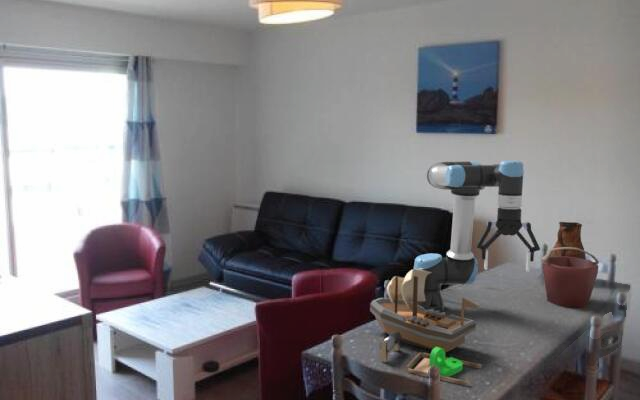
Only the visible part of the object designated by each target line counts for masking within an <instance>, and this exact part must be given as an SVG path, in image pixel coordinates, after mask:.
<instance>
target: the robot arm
mask: <svg viewBox="0 0 640 400" xmlns="http://www.w3.org/2000/svg"><path fill="white" fill-rule="evenodd" d="M524 173H525V171H524V163H523V162H522V161H519V160H518V161H517V160H502V161H500V163H499V164H498V163H497V164H496V163H495V164H481V163H480V162H478V161H470V160H469V161H468V160H467V161H441V162H437V163H435V164H433V165H431V166H430V167H429V168H428V169H427V172H426V179H427V182H428V183H429V185H431V186H432V187H434V188H436V189H439V190H447V191H450V193H451V195H452V196H453V198H454V199H453V210H452V211H453V212H452V221H451V222H452V224H451V236H450V237H451V239H450V249H449V250H448V251H446V256H445V257H443V256H442V255H441V253H440V254H439V253H434V252H433V253H432V252H431V253H425V254H420V255H418V256H416V258H414V265H413V269H419V270H423V271H428V272H432V273H430V274H428V275H427V277H426V279H425V285H424V295H425V299H426V301H419V302H417V305H419V306H421V307H423V308H424V309H425V310H430V309H434V311H440V312H444V309H445V302H444V298H443V295H442V292H441V291H442V290H441V287H442V286H443V285H461V286H462V285H471V284H473V283H474V282H475V280H476V279H477V276H478V274H479V267H478V265H479V263H478V260H477V258H476V257H475V255H474V253H473V252H472V241H473V240H472V239H473V229H474V217H475V205H476V198H477V197H479V196H480V191H483V190H485V188H487V187H489V188H491V187H492V188H493V187H494V188H498V195H497V196H498V197H497V206H498V208H497V215H496V216H497V219H496V221H491V220H487V223H486V228H484V230H483V232H482V234H481V236H480V237H479V239H478V241H477V243H476V248H477V249H480V250H481V255H480V256H481V259H482V260H484V265H483V266H484V267H483V268H484V270H485V271H488V268H489V267H488V265H489V263H488V261H489V260H488V259H489V250H488V248H489V247H490V246H491V245H492V244H493V243H494V242H495V241H496V240H497V239H498V238H499V237H500V236H501V235H502V236H514V237H515V235H516V236H517V237H518V238H519V239H520V241H521V242H522V243H523V244H524V245H525V246H526V248H527V249H528V250H526V258H525V259H526V263H525V270H526V272H528V273H529V272H530V271H531V262H534V257H535V252H538V251H540V250H541V248H540V245H539V243H538V241H537V239H536V236H535V235H534V233H533V231H532V224H531V223H530V222H529V221H526V222H522V208H521V207H523V206H522V205H523V203H522V202H523V201H522V200H523V185H524V184H523V181H524ZM495 226H496V228H497V229H496V230H495V232H494V233H493V234H492V235H491V236H490V237H489V238H488V239H487V237H488V235H489V234H490V232H491V229H493V228H495ZM522 227H523V228H524V229H525V230H526V232H527V234H528V235H529V238H530V240H531V242H532V244H533V246H532V245H531V244H530V243H529V242H528V241H527V239H526V238H525V237H524V236H523V234H522V233H521V232H520V230H521V229H522ZM486 239H487V240H486ZM485 240H486V241H485ZM484 242H485V243H484ZM483 243H484V244H483ZM412 303H413V302H412Z"/></svg>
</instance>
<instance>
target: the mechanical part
mask: <svg viewBox="0 0 640 400" xmlns="http://www.w3.org/2000/svg"><path fill="white" fill-rule="evenodd" d="M429 354H430V358H429V359H430V365H429V367H430V366H432V365H436V366H438V367H439V369H440V375H441V376H445V377H450V378H451V376H454V375H455V374H458V373H460V372H462V371H463V369H464V367H463V366H464V365H463V362H462V361H463V360H462V361H460V360H461V359H458V358H455V357H453V356H451V357H448V359H446V360H445V357H446V352H445V350H444V349H442V348H439V347H435V348H434V349H433V350H432V351H431V352H430V353H429Z"/></svg>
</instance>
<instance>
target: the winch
mask: <svg viewBox="0 0 640 400" xmlns="http://www.w3.org/2000/svg"><path fill="white" fill-rule="evenodd" d="M401 339H402V337H401V334H400V331H396V330H395V331H394V332H393V333H392V334H391V335H389V334H388V336H387V337H385V338H384V340H383V341H381V342H380V343H379V350H380V351H381V352H380V353H381V354H380V355H381V357H380V362H381V363H387V362H388V357H389V356H388V354H389V352H391V351H392V350H393V351H394V352H399V351H400V342H401Z"/></svg>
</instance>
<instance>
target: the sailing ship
mask: <svg viewBox="0 0 640 400" xmlns="http://www.w3.org/2000/svg"><path fill="white" fill-rule="evenodd" d="M430 273H432V272H428V271H423V270H419V269H414V268H413V269H411V270H409V271H408V272H407V273H406V275H405V276H404V277H403V276H402V277H401V276H398V275H395V276H393V277H392V278H391V280H389V282H388V284H387V285H386V293H387V297H388V298H387V297H378V298H376V299H373V300H371V302H370V303H369V311H370V312H371V313H372V315H374V317H375V319H376V321H377V323H378V326H379V327H380V328H381V329H382V330H383V331H384V332H385V333H386V334H388V336H389V335H391V334H392V333H393V332H394V331H395V330H396V331H400V334H401V337H402V339H401V341H400V342H402V343H406V344H409V345H412V346H414V347H418V348H421V349H425V350H428V351H431V352H432V350H433V349H434V348H435V347H439V348H442V349H444V350H445V353H447V352H449V351H452V350H453V349H455V348H457V347H459V346H460V345H463V344H464V343H466V342H465V341H466V336H467V335H469V334H471V333H473V332H474V331H476V328H477V327H476V326H477V322H476V320H474V319H471V318H465V308H467V309H470V308H481V306H480V305H478V304H476V303H474V302H473V301H471V300H468V299H467V298H465V297H462V299H461V312H460V314H461V315H460V316H457V315H453V314H450V315H448V316H447V317H446V316H445V315H446V314H447V313H446V311H434V309H430V310H425V309H424V308H423V307H421V306H419V305H417V302H419V301H426V299H425V295H424V285H425V279H426V277H427V275H428V274H430ZM412 302H413V303H412Z"/></svg>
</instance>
